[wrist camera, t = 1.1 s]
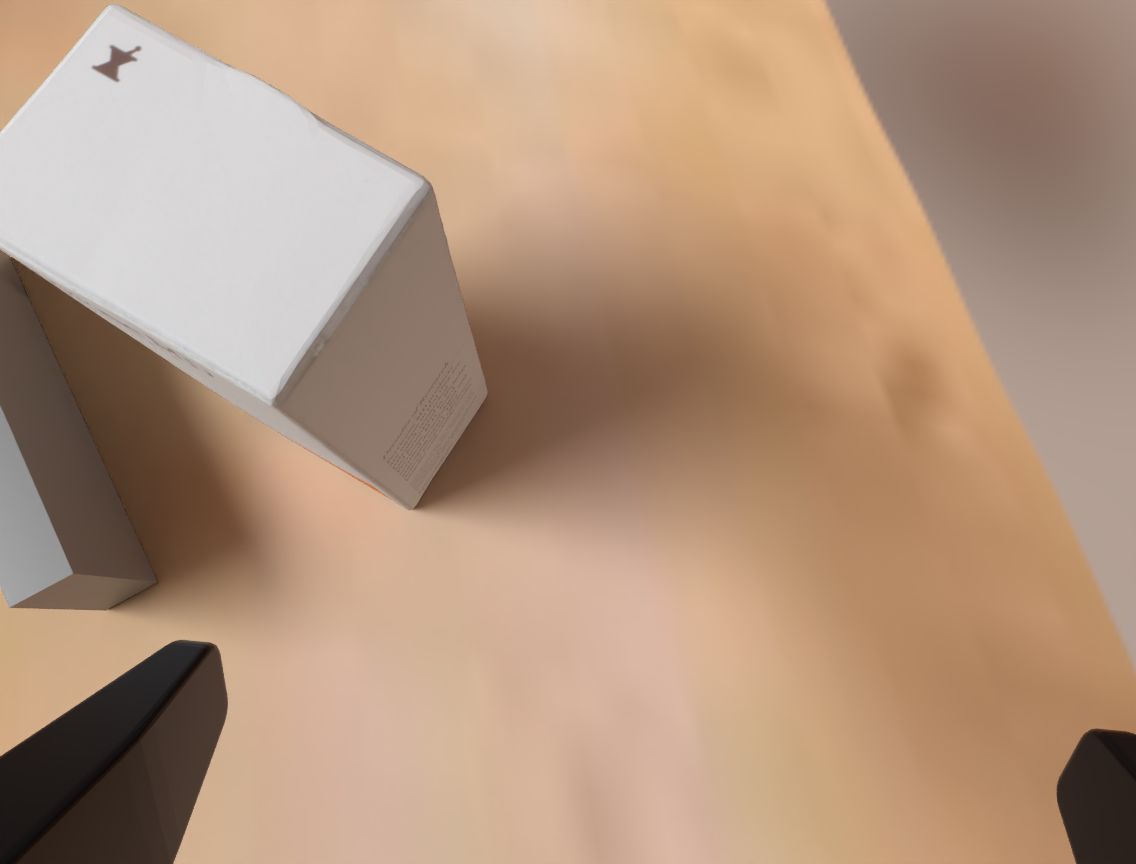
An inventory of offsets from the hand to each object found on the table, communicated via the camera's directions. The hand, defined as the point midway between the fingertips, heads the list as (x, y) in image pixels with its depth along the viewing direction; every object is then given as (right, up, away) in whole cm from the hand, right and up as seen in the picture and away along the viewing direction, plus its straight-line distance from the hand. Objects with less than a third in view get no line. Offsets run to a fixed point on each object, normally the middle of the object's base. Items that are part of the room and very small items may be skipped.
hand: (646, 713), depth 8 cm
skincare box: (-7, +4, +15) cm, 17 cm away
